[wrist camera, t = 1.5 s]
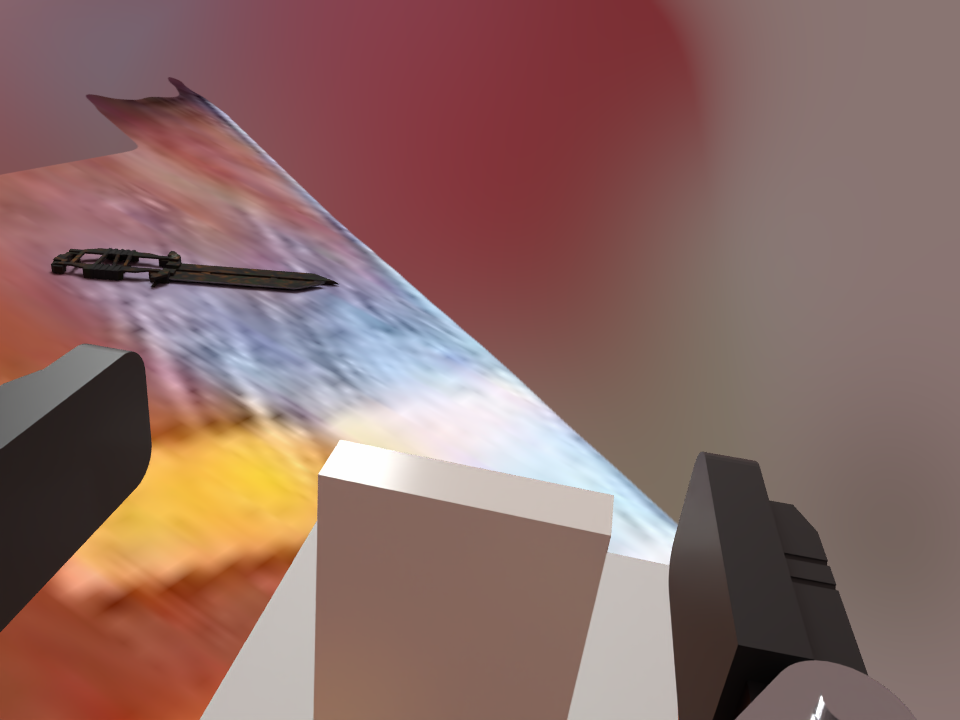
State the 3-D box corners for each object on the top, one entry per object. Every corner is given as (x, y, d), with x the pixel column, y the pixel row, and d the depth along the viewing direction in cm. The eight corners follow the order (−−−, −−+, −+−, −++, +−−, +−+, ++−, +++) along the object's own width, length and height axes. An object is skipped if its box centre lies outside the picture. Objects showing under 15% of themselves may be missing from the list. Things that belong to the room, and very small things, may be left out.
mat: (162, 797, 31) (161, 785, 31) (332, 504, 48) (332, 494, 48) (679, 934, 29) (685, 922, 29) (669, 577, 46) (672, 566, 45)
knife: (340, 284, 78) (341, 271, 77) (327, 312, 72) (327, 298, 72) (78, 253, 78) (77, 239, 77) (44, 278, 72) (41, 264, 71)
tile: (312, 784, 32) (318, 474, 25) (330, 740, 34) (340, 438, 27) (537, 842, 31) (611, 535, 24) (544, 793, 32) (613, 494, 26)
